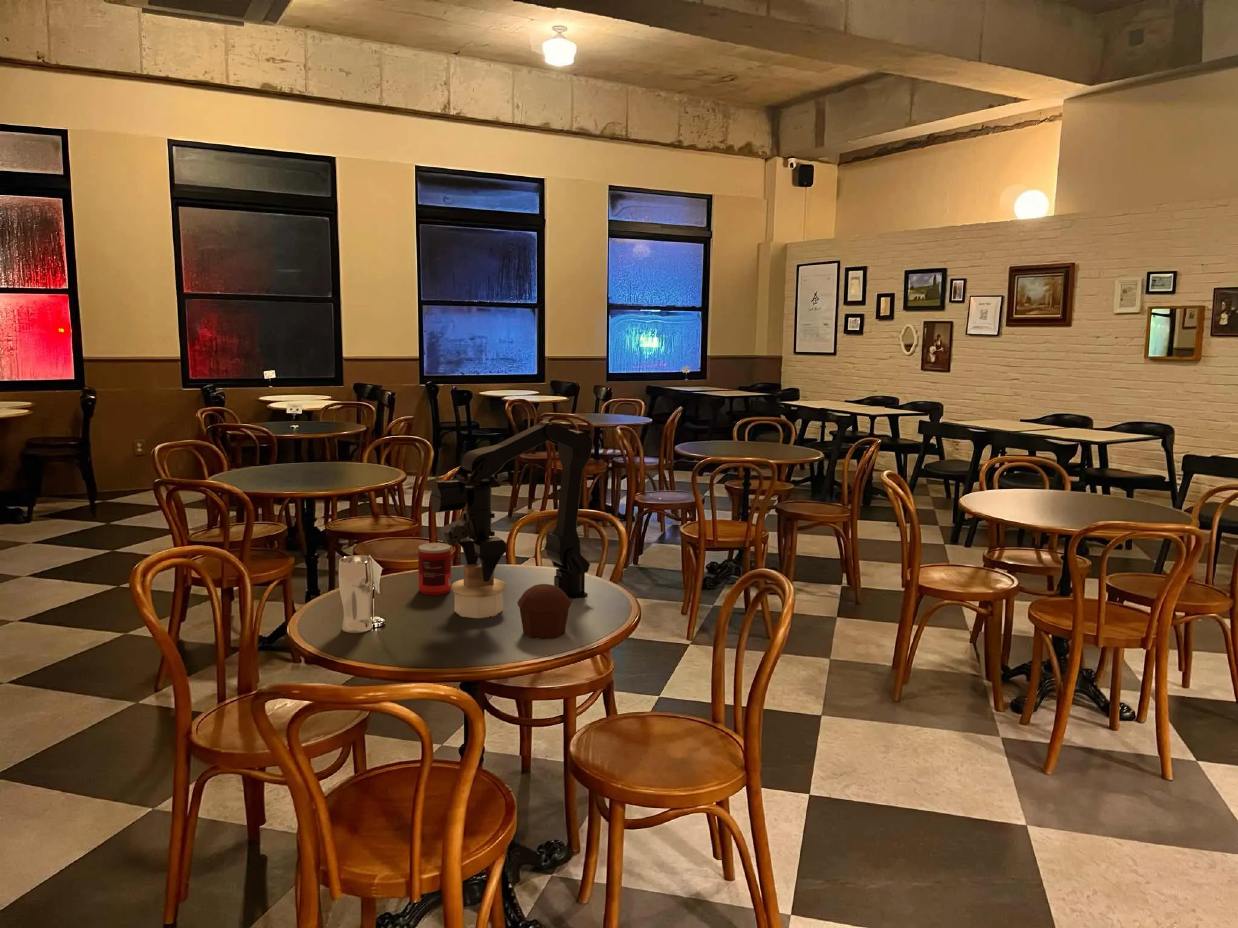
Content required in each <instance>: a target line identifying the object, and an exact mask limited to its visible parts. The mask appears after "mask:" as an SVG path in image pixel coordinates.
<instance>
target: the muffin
mask: <svg viewBox="0 0 1238 928" xmlns="http://www.w3.org/2000/svg"><path fill="white" fill-rule="evenodd" d="M516 603H517V606H518V608H519V612H520V620H521V627H522V631H523V632H522V633H523V635H524V636H527V637H529V638H530V639H538V640H549V639H550V640H551V639H552V640H553V639H558V638H560V637H562V636H564V635H566V634H565V633H566V628H567V627H566V626H567V623H568V622H567V621H568V615H569V610H570V607H571V604H572V600H571V598H568V596H567V595H566V594H565V592H563V591H562V590H561V589H560V588H558V587H557V586H554V584H548V583H539V584H535V585H532V586H531V587H529V588H528V589H526V590H525V591H524V592H523V593H522V595H521V596H520V598H519V599H518V601H517V602H516Z"/></svg>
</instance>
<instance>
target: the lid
mask: <svg viewBox="0 0 1238 928" xmlns="http://www.w3.org/2000/svg"><path fill="white" fill-rule="evenodd" d="M494 572H495V571H494ZM494 572H493V574H492V576H491V578H490V580H489V581H488V582H484V580H483V574H482V567H481V562H479V563H477V564H471V565H467V564H464V565H463V578H462V579H460V580H456V581H454V582H453V583H451V592H452V593H453V594H457V595H460V596H465V597H487V596H493V595H497V594H500V593H502V592H503V593H504V592H505V591H506V582H505V581H504V580H502V579H497V578H495V577H494V574H495V573H494Z"/></svg>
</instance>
